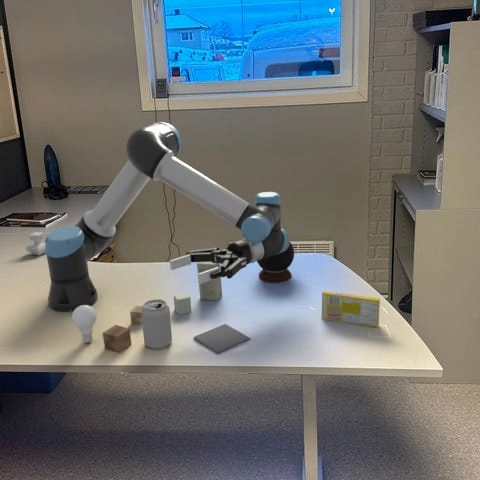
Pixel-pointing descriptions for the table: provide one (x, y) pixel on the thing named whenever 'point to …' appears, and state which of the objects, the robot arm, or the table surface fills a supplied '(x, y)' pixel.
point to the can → (156, 324)
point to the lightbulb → (85, 321)
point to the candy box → (350, 309)
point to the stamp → (36, 244)
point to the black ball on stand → (277, 266)
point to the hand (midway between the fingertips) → (184, 271)
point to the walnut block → (117, 338)
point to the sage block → (182, 303)
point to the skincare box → (209, 282)
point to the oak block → (136, 315)
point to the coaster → (221, 338)
